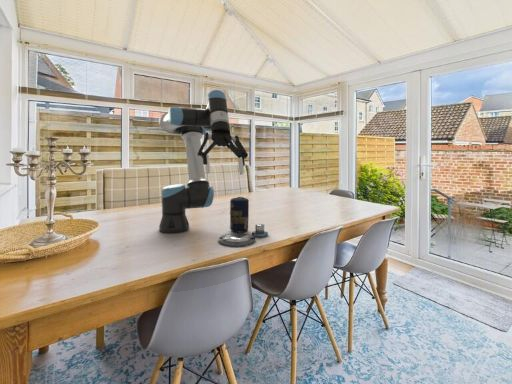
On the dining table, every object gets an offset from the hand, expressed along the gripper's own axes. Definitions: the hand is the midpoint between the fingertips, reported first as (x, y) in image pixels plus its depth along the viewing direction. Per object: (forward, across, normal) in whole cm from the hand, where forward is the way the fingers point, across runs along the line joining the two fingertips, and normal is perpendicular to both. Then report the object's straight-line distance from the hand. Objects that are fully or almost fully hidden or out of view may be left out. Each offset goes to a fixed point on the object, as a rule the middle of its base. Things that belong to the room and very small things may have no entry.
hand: (225, 172), depth 112 cm
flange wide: (+22, +12, +28) cm, 37 cm away
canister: (+14, +20, +42) cm, 48 cm away
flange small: (+19, +26, +31) cm, 45 cm away
